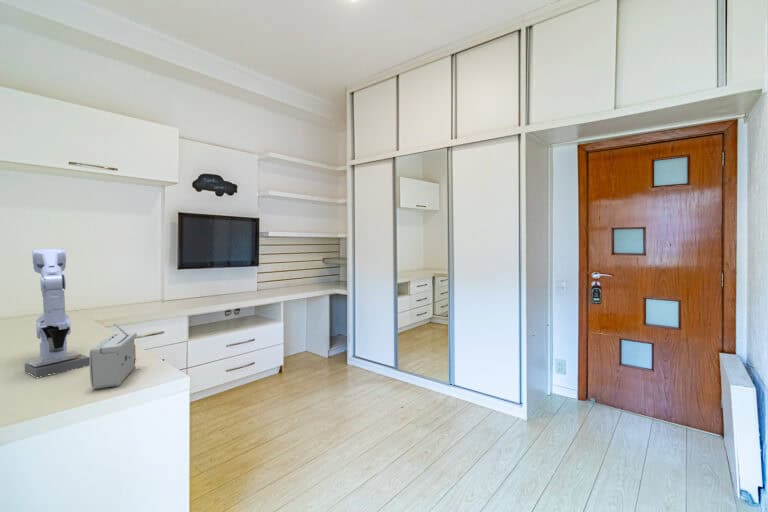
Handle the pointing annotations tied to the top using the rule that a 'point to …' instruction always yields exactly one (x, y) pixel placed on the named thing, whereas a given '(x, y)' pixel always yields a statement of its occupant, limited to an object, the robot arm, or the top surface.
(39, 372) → the base
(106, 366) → the stereo radio cassette player
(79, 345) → the top surface
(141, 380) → the top surface
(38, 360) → the pan
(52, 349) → the cylinder
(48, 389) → the top surface
